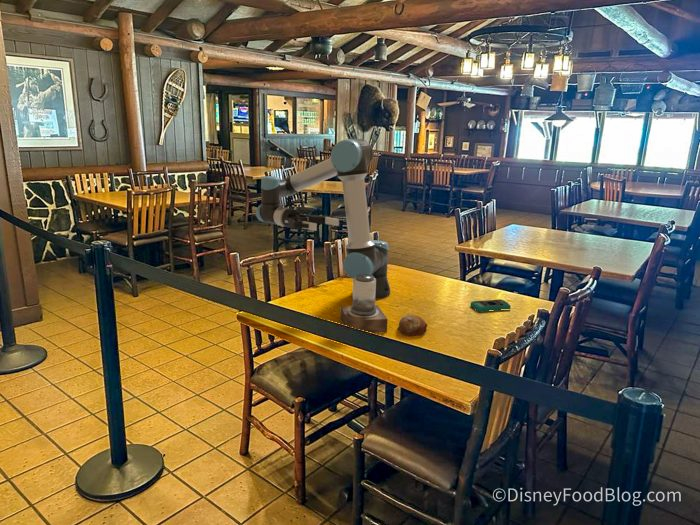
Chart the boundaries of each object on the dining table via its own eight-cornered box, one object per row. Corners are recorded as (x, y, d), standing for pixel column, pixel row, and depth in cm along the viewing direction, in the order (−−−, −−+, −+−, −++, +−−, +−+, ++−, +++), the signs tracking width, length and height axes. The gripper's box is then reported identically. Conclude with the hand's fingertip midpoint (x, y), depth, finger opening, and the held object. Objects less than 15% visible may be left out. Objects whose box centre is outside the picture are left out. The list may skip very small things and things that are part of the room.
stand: (377, 317, 188) (377, 304, 187) (386, 332, 175) (387, 317, 173) (340, 319, 185) (340, 305, 184) (347, 334, 172) (348, 319, 171)
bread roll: (399, 335, 182) (391, 316, 180) (425, 323, 182) (417, 305, 180) (405, 346, 173) (396, 327, 170) (432, 334, 172) (424, 315, 170)
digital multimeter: (511, 311, 201) (512, 304, 200) (478, 313, 197) (479, 306, 196) (501, 305, 208) (502, 298, 207) (469, 307, 204) (470, 300, 203)
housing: (372, 306, 184) (374, 272, 180) (379, 315, 175) (380, 280, 172) (348, 307, 182) (349, 273, 179) (353, 316, 173) (354, 280, 170)
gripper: (307, 222, 216) (346, 229, 204) (265, 230, 196) (305, 239, 184) (307, 205, 214) (347, 211, 202) (265, 211, 194) (306, 219, 182)
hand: (327, 224), depth 193 cm, fingers open, 13 cm apart
